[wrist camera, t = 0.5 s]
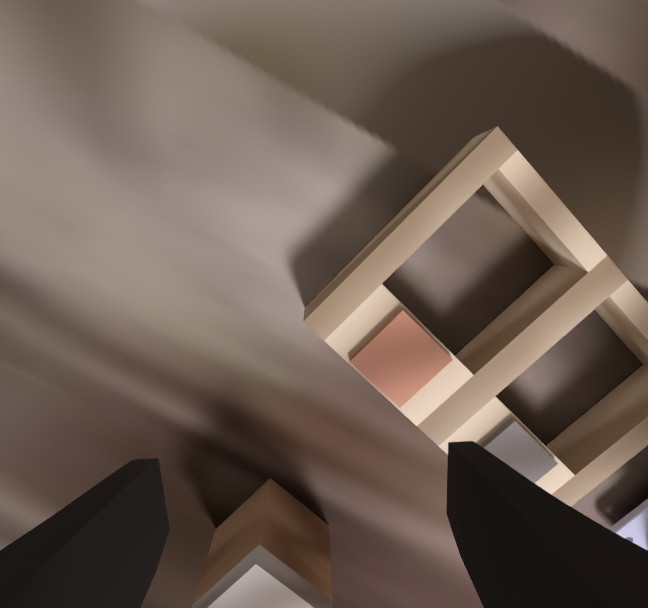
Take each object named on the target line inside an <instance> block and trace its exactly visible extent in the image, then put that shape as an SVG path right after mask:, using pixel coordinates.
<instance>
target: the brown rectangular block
mask: <svg viewBox="0 0 648 608" xmlns="http://www.w3.org/2000/svg"><path fill="white" fill-rule="evenodd" d="M192 608H333V601H332V580H331V558H330V537H329V525H327V524H326V523H325V522H324V521H323V520H321V519H320V518H319V517H318V516H316V515H315V514H314V513H313V512H311V511H310V510H309V509H308V508H307V507H305V506H304V505H303V504H302V503H300V502H299V501H298V500H297V499H295V498H294V497H293V496H292V495H291V494H289V493H288V492H287V491H286V490H284V489H283V488H282V487H281V486H279V485H278V484H277V483H276V482H275V481H273V480H272V479H271V478H270V479H269V480H268V481H267V482H265V483H264V484H263V485H262V486H261V487H260V488H259V489H258V490H257V491H256V492H255V493H254V494H253V495H252V496H251V497H250V498H248V499H247V500H246V501H245V502H244V503H243V504H242V505H241V506H240V507H239V508H238V509H237V510H236V511H235V512H234V513H233V514H231V515H230V516H229V517H228V518H227V519H226V520H225V521H224V522H223V523H222V524H221V525H220V526H219V527H218V528H217V529H216V531H215V534H214V537H213V541H212V544H211V547H210V550H209V554H208V557H207V560H206V563H205V566H204V570H203V573H202V576H201V579H200V583H199V586H198V589H197V592H196V596H195V599H194V602H193V605H192Z"/></svg>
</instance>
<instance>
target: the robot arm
mask: <svg viewBox="0 0 648 608" xmlns="http://www.w3.org/2000/svg"><path fill="white" fill-rule="evenodd" d="M447 516H448V519H449V522H450V525H451V529H452V532H453V535H454V538H455V541H456V544H457V547H458V550H459V553H460V556H461V558H462V560H463V562H464V565H465V567H466V569H467V571H468V574H469V576H470V578H471V580H472V582H473V585H474V587H475V589H476V591H477V593H478V596H479V598H480V600H481V602H482V604H483V606H484V608H648V499H646V500H645V501H644V502H643V503H641V504H640V505H639V506H637V507H636V508H635V509H633V510H632V511H631V512H630V513H628V514H627V515H626V516H624V517H623V518H622V519H621V520H619V521H618V522H617V523H615V524H614V525H613V526H612V527H611V528H610V530H609V529H607V528H605V527H603V526H602V525H600V524H598V523H597V522H595V521H593V520H591V519H590V518H588V517H587V516H585V515H583V514H582V513H580V512H578V511H577V510H575V509H573V508H572V507H570V506H569V505H567V504H565V503H564V502H562V501H561V500H559V499H558V498H556V497H554V496H553V495H551V494H550V493H548V492H547V491H545V490H544V489H542V488H541V487H539V486H538V485H536V484H535V483H533V482H532V481H530V480H529V479H527V478H526V477H525V476H523V475H522V474H520V473H519V472H517V471H516V470H514V469H513V468H512V467H510V466H509V465H507V464H506V463H505V462H503V461H502V460H500V459H499V458H497V457H496V456H495V455H493V454H492V453H490V452H489V451H487V450H486V449H484V448H483V447H482V446H480V445H479V444H477V443H475V442H474V441H462V442H448V475H447ZM169 529H170V528H169V522H168V516H167V510H166V503H165V497H164V491H163V485H162V479H161V472H160V466H159V460H158V458H156V459H137V460H132V461H131V462H129V463H127V464H126V465H124V466H123V467H121V468H120V469H118V470H117V471H115V472H114V473H112V474H111V475H110V476H108V477H107V478H105V479H104V480H102V481H101V482H100V483H98V484H97V485H95V486H94V487H93V488H91V489H90V490H88V491H87V492H86V493H84V494H83V495H81V496H80V497H79V498H77V499H76V500H74V501H73V502H72V503H70V504H69V505H67V506H66V507H64V508H63V509H62V510H60V511H59V512H57V513H56V514H55V515H53V516H52V517H50V518H49V519H47V520H46V521H44V522H43V523H41V524H40V525H38V526H37V527H35V528H34V529H32V530H31V531H29V532H28V533H26V534H25V535H23V536H22V537H20V538H19V539H17V540H16V541H14V542H13V543H11V544H10V545H8V546H7V547H5V548H4V549H2V550H0V608H140V607H141V604H142V602H143V600H144V598H145V595H146V593H147V591H148V589H149V587H150V584H151V582H152V580H153V577H154V575H155V573H156V570H157V567H158V564H159V561H160V558H161V555H162V552H163V549H164V545H165V542H166V539H167V536H168V532H169Z"/></svg>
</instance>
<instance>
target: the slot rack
mask: <svg viewBox="0 0 648 608" xmlns="http://www.w3.org/2000/svg"><path fill="white" fill-rule="evenodd" d="M482 185H484V186H485V187H486V188H487V189H488V191H489V192H490V193H491V194H492V195H493V196H494V197H495V198H496V200H497V201H498V202H499V203H500V204H501V205H502V206H503V208H504V209H505V210H506V211H507V212H508V213H509V214H510V215H511V217H512V218H513V219H514V220H515V221H516V222H517V223H518V224H519V226H520V227H521V228H522V229H523V230H524V231H525V232H526V233H527V235H528V236H529V237H530V238H531V239H532V240H533V241H534V242H535V243H536V245H537V246H538V247H539V248H540V249H541V250H542V251H543V252H544V254H545V255H546V256H547V257H548V258H549V259H550V260H551V261H552V263H553V264H554V265H553V266H552V267H551V268H550V269H549V270H548V271H547V272H546V273H545V274H544V275H542V276H541V277H540V278H539V279H538V280H537V281H536V282H535V283H534V284H533V285H532V286H530V287H529V288H528V289H527V290H526V291H525V292H524V293H523V294H522V295H521V296H519V297H518V298H517V299H516V300H515V301H514V302H513V303H512V304H511V305H510V306H509V307H507V308H506V309H505V310H504V311H503V312H502V313H501V314H500V315H499V316H498V317H497V318H495V319H494V320H493V321H492V322H491V323H490V324H489V325H488V326H487V327H486V328H485V329H483V330H482V331H481V332H480V333H479V334H478V335H477V336H476V337H475V338H474V339H473V340H471V341H470V342H469V343H468V344H467V345H466V346H465V347H464V348H463V349H462V350H460V351H459V352H458V353H457V354H456V355H454V354H453V353H452V352H451V351H450V350H449V349H448V348H447V347H446V346H445V345H444V344H443V343H442V342H441V341H440V340H439V339H438V338H437V337H436V336H435V335H434V334H433V333H432V332H430V331H429V330H428V329H427V328H426V327H425V326H424V325H423V324H422V323H421V322H420V321H419V320H418V319H417V318H416V317H415V316H414V315H413V314H412V313H411V312H410V311H409V310H408V309H407V308H406V307H405V306H404V305H403V304H402V303H401V302H400V301H399V300H398V299H397V298H396V297H395V296H394V295H393V294H392V293H391V292H390V291H389V290H388V289H387V288H386V287H385V286H384V285H383V284H382V283H383V282H384V281H385V280H386V279H387V278H388V277H389V276H390V275H391V274H392V273H393V272H394V271H395V270H396V269H397V268H398V267H399V266H400V265H401V264H402V263H403V262H404V261H405V260H407V259H408V258H409V257H410V256H411V255H412V254H413V253H414V252H415V251H416V250H417V249H418V248H419V247H420V246H421V245H422V244H423V243H424V242H425V241H426V240H427V239H428V238H429V237H430V236H431V235H432V234H433V233H434V232H435V231H436V230H437V229H438V228H439V227H440V226H441V225H442V224H443V223H444V222H445V221H446V220H447V219H448V218H449V217H450V216H451V215H452V214H453V213H454V212H455V211H456V210H457V209H458V208H459V207H460V206H461V205H462V204H463V203H464V202H465V201H466V200H467V199H468V198H469V197H470V196H471V195H472V194H473V193H474V192H475V191H476V190H477V189H478V188H479V187H481V186H482ZM593 310H595V311H596V312H597V313H598V314H599V315H600V317H601V318H602V319H603V320H604V321H605V322H606V323H607V324H608V326H609V327H610V328H611V329H612V330H613V331H614V332H615V333H616V335H617V336H618V337H619V338H620V339H621V340H622V341H623V342H624V344H625V345H626V346H627V347H628V348H629V349H630V350H631V351H632V353H633V354H634V355H635V356H636V357H637V358H638V359H639V360H640V362H641V363H642V364H643V365H642V366H641V367H640V368H639V369H637V370H636V371H635V372H634V373H633V374H631V375H630V376H629V377H628V378H627V379H625V380H624V381H623V382H622V383H621V384H619V385H618V386H617V387H616V388H615V389H613V390H612V391H611V392H610V393H609V394H607V395H606V396H605V397H604V398H603V399H601V400H600V401H599V402H598V403H597V404H595V405H594V406H593V407H592V408H591V409H589V410H588V411H587V412H586V413H585V414H583V415H582V416H581V417H580V418H579V419H577V420H576V421H575V422H574V423H573V424H571V425H570V426H569V427H568V428H567V429H565V430H564V431H563V432H562V433H561V434H559V435H558V436H557V437H556V438H555V439H553V440H552V441H551V442H550V443H549V444H547V445H546V446H545V445H544V444H543V443H542V442H541V441H540V440H539V439H538V438H537V437H536V436H535V435H534V434H533V433H532V432H531V431H530V430H529V429H528V428H527V427H526V426H525V425H524V424H523V423H522V422H521V421H520V420H519V419H518V418H517V417H516V416H515V415H514V414H513V413H512V412H511V411H510V410H509V409H508V408H507V407H506V406H505V405H504V404H503V403H502V402H501V401H500V400H499V399H498V398H497V397H496V395H497V394H498V393H500V392H501V391H502V390H503V389H504V388H505V387H506V386H508V385H509V384H510V383H511V382H512V381H513V380H514V379H516V378H517V377H518V376H519V375H520V374H521V373H522V372H524V371H525V370H526V369H527V368H528V367H529V366H530V365H532V364H533V363H534V362H535V361H536V360H537V359H538V358H539V357H541V356H542V355H543V354H544V353H545V352H546V351H547V350H549V349H550V348H551V347H552V346H553V345H554V344H555V343H557V342H558V341H559V340H560V339H561V338H562V337H563V336H565V335H566V334H567V333H568V332H569V331H570V330H571V329H573V328H574V327H575V326H576V325H577V324H578V323H579V322H581V321H582V320H583V319H584V318H585V317H586V316H587V315H588V314H590V313H591V312H592V311H593ZM303 322H304V323H306V324H307V325H308V326H309V327H310V328H311V329H312V330H313V331H314V332H315V333H316V334H317V335H319V336H320V337H321V338H322V339H323V340H324V341H325V342H326V343H327V344H328V345H329V346H330V347H332V348H333V349H334V350H335V351H336V352H337V353H338V354H339V355H340V356H341V357H342V358H344V359H345V360H346V361H347V362H348V363H349V364H350V365H351V366H352V367H353V368H354V369H355V370H357V371H358V372H359V373H360V374H361V375H362V376H363V377H364V378H365V379H366V380H367V381H368V382H370V383H371V384H372V385H373V386H374V387H375V388H376V389H377V390H378V391H379V392H380V393H381V394H383V395H384V396H385V397H386V398H387V399H388V400H389V401H390V402H391V403H392V404H393V405H394V406H396V407H397V408H398V409H399V410H400V411H401V412H402V413H403V414H404V415H405V416H406V417H407V418H409V419H410V420H411V421H412V422H413V423H414V424H415V425H416V426H417V427H418V428H419V429H421V430H422V431H423V432H424V433H425V434H426V435H427V436H428V437H429V438H430V439H431V440H432V441H434V442H435V443H436V444H437V445H438V446H439V447H440V448H441V449H442V450H443V451H444V452H445V453H447V454H448V442H462V441H474V442H475V443H477V444H479V445H480V446H482V447H483V448H484V449H486V450H487V451H489V452H490V453H492V454H493V455H495V456H496V457H497V458H499V459H500V460H502V461H503V462H505V463H506V464H507V465H509V466H510V467H512V468H513V469H514V470H516V471H517V472H519V473H520V474H522V475H523V476H525V477H526V478H527V479H529V480H530V481H532V482H533V483H535V484H536V485H538V486H539V487H541V488H542V489H544V490H545V491H547V492H548V493H550V494H551V495H553V496H554V497H556V498H558V499H559V500H561V501H562V502H564V503H565V504H567V505H569V506H570V507H571V506H572V505H573V504H575V503H576V502H577V501H578V500H580V499H581V498H582V497H583V496H585V495H586V494H587V493H588V492H590V491H591V490H592V489H593V488H595V487H596V486H597V485H598V484H600V483H601V482H602V481H603V480H605V479H606V478H607V477H609V476H610V475H611V474H612V473H614V472H615V471H616V470H617V469H619V468H620V467H621V466H622V465H624V464H625V463H626V462H627V461H629V460H630V459H631V458H632V457H634V456H635V455H636V454H637V453H639V452H640V451H641V450H642V449H644V448H645V447H646V446H647V445H648V303H647V301H646V300H645V299H644V298H643V297H642V296H641V294H640V293H639V292H638V291H637V290H636V288H635V287H634V286H633V285H632V284H631V283H630V281H629V280H628V279H627V278H626V277H625V276H624V274H623V273H622V272H621V271H620V270H619V269H618V267H617V266H616V265H615V264H614V263H613V261H612V260H611V259H610V258H609V257H608V256H607V254H606V253H605V252H604V251H603V250H602V249H601V247H600V246H599V245H598V244H597V243H596V242H595V240H594V239H593V238H592V237H591V236H590V235H589V233H588V232H587V231H586V230H585V229H584V227H583V226H582V225H581V224H580V223H579V222H578V220H577V219H576V218H575V217H574V216H573V214H572V213H571V212H570V211H569V210H568V209H567V207H566V206H565V205H564V204H563V203H562V202H561V200H560V199H559V198H558V197H557V196H556V195H555V193H554V192H553V191H552V190H551V189H550V187H549V186H548V185H547V184H546V183H545V182H544V180H543V179H542V178H541V177H540V176H539V175H538V173H537V172H536V171H535V170H534V169H533V168H532V166H531V165H530V164H529V163H528V162H527V160H526V159H525V158H524V157H523V156H522V155H521V153H520V152H519V151H518V150H517V149H516V147H515V146H514V145H513V144H512V143H511V142H510V141H509V139H508V138H507V137H506V136H505V135H504V133H503V132H502V131H501V130H500V129H499V127H498V126H497V127H495V128H493V129H491V130H488V131H486V132H484V133H482V134H480V135H478V136H475V137H473V138H472V139H471V140H470V141H469V142H468V143H467V144H466V145H465V146H464V147H463V148H462V149H461V150H460V151H459V152H458V153H457V154H456V155H455V156H454V158H452V159H451V160H450V161H449V163H448V164H446V165H445V166H444V167H443V168H442V169H441V170H440V171H439V172H438V173H437V174H436V176H435V177H434V178H433V179H432V180H431V181H430V182H429V183H428V184H427V185H426V186H425V187H424V188H423V189H422V190H421V191H420V192H419V193H418V194H417V195H416V196H415V197H414V198H413V199H412V200H411V201H410V202H409V203H408V204H407V205H406V206H405V207H404V208H403V209H402V210H401V211H400V212H399V213H398V214H397V215H396V216H395V217H394V218H393V219H392V220H391V221H390V222H389V223H388V224H387V225H386V226H385V227H384V228H383V229H382V230H381V231H380V232H379V233H378V234H377V235H376V236H375V237H374V238H373V239H372V240H371V241H370V242H369V243H368V244H367V245H366V246H365V247H364V248H363V249H362V251H361V252H360V253H359V254H358V255H357V256H356V257H355V258H354V259H353V260H352V261H351V262H350V263H349V264H348V265H347V266H346V267H345V268H344V269H343V270H342V271H341V272H340V273H339V274H338V275H337V276H336V277H335V278H334V279H333V280H332V281H331V282H330V283H329V284H328V285H327V286H326V287H325V288H324V289H323V290H322V291H321V292H320V293H319V294H318V295H317V296H316V297H315V298H314V299H313V300H312V301H311V302H310V303H309V304H308V305H307V306H306V307H305V311H304V321H303Z"/></svg>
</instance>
